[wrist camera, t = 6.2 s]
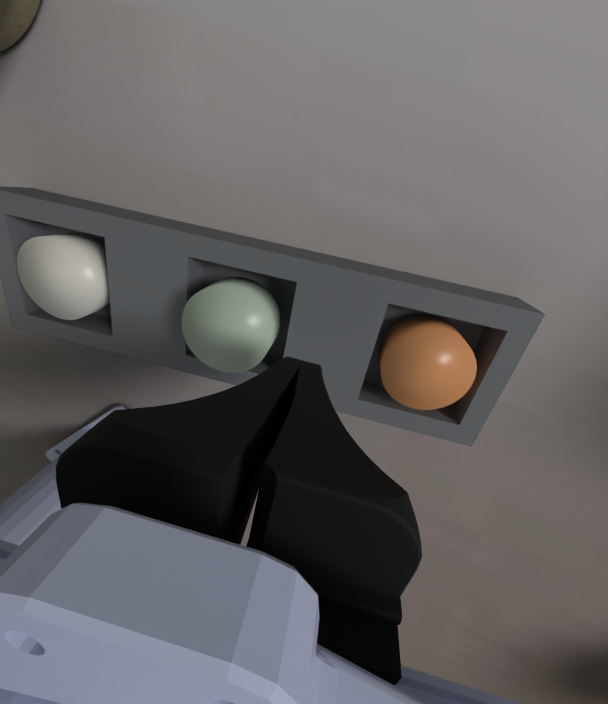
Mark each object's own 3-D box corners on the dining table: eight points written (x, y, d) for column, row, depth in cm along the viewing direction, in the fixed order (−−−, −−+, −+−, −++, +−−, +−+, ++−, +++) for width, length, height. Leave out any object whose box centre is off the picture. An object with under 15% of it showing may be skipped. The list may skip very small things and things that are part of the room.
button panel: (52, 313, 20) (12, 326, 18) (31, 187, 17) (-21, 185, 14) (458, 416, 18) (471, 446, 16) (518, 297, 15) (545, 314, 13)
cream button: (58, 299, 18) (25, 309, 16) (47, 225, 16) (8, 228, 15) (124, 315, 18) (97, 328, 16) (119, 242, 16) (89, 247, 14)
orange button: (369, 377, 17) (370, 397, 15) (393, 306, 15) (396, 319, 13) (445, 395, 17) (454, 419, 15) (477, 326, 15) (493, 342, 13)
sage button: (200, 344, 17) (180, 361, 15) (204, 267, 15) (182, 276, 13) (274, 362, 16) (263, 382, 15) (286, 287, 15) (276, 298, 13)
